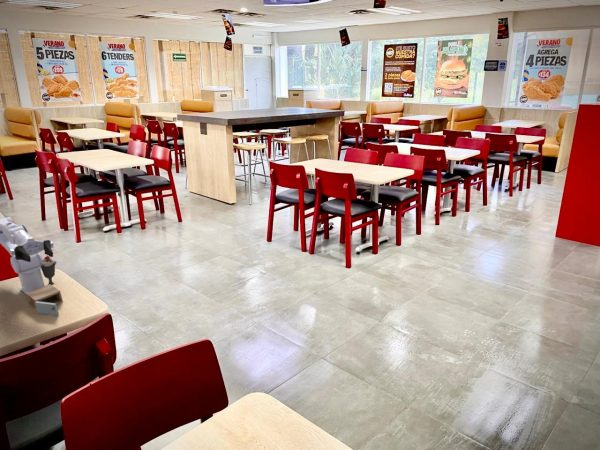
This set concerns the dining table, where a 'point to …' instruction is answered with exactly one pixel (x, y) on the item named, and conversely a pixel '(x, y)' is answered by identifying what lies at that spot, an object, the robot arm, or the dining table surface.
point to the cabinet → (44, 295)
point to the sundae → (48, 268)
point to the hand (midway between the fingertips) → (40, 256)
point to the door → (47, 308)
